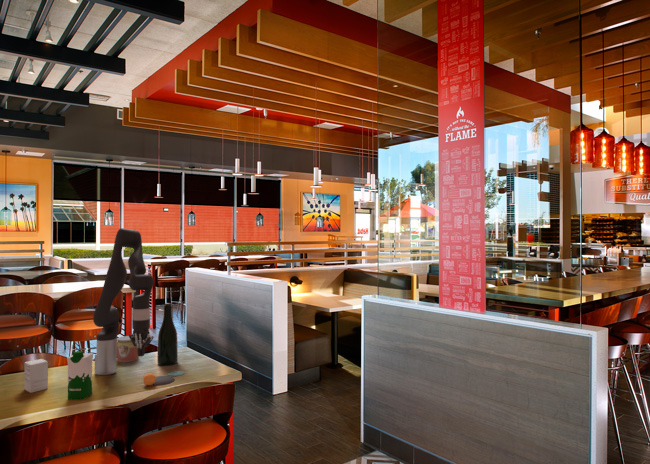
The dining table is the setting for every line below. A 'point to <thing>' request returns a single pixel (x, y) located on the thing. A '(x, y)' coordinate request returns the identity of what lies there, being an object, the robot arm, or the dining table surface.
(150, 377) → the ball
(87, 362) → the milk carton
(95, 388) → the dining table surface
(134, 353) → the canned food
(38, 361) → the supplement box
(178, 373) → the disc
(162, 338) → the dark green wine bottle
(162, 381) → the disc
